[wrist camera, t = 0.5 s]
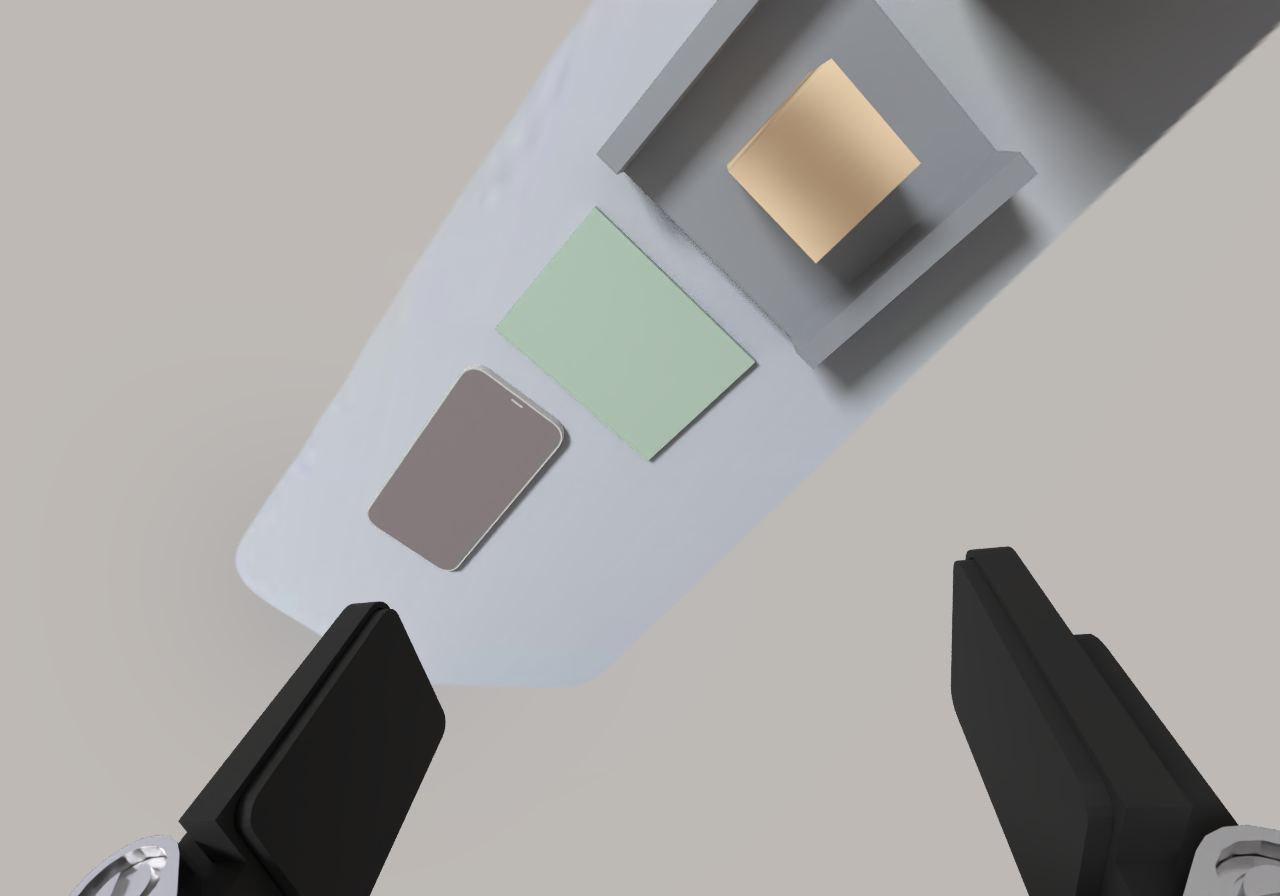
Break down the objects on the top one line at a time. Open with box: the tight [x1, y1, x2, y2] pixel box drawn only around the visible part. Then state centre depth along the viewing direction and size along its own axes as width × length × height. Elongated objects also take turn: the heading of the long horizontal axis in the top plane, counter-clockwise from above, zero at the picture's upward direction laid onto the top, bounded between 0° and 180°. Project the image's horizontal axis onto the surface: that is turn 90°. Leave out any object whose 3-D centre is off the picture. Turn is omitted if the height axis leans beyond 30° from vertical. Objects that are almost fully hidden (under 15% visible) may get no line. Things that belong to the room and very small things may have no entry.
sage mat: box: [495, 207, 755, 461], centre depth 36 cm, size 9×12×1 cm
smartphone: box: [367, 364, 565, 571], centre depth 41 cm, size 7×1×15 cm
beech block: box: [727, 58, 921, 263], centre depth 26 cm, size 5×5×6 cm
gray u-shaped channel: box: [596, 0, 1038, 369], centre depth 29 cm, size 12×14×4 cm
